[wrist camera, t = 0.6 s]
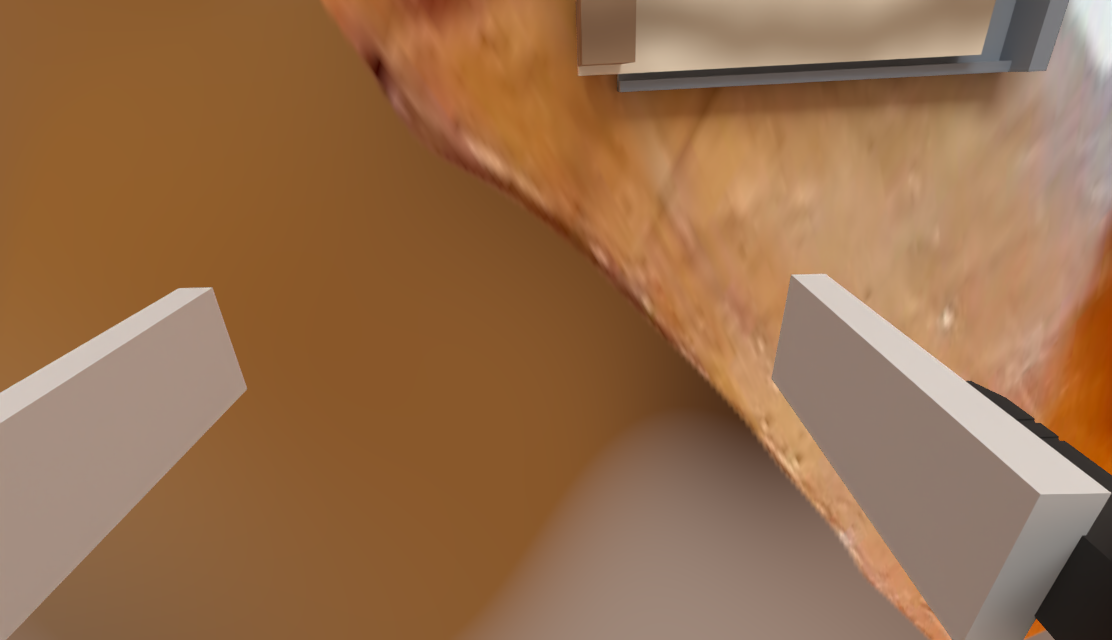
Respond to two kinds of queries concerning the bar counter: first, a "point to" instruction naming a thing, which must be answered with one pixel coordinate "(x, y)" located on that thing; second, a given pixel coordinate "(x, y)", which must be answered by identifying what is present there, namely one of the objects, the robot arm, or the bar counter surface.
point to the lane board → (1010, 46)
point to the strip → (771, 32)
